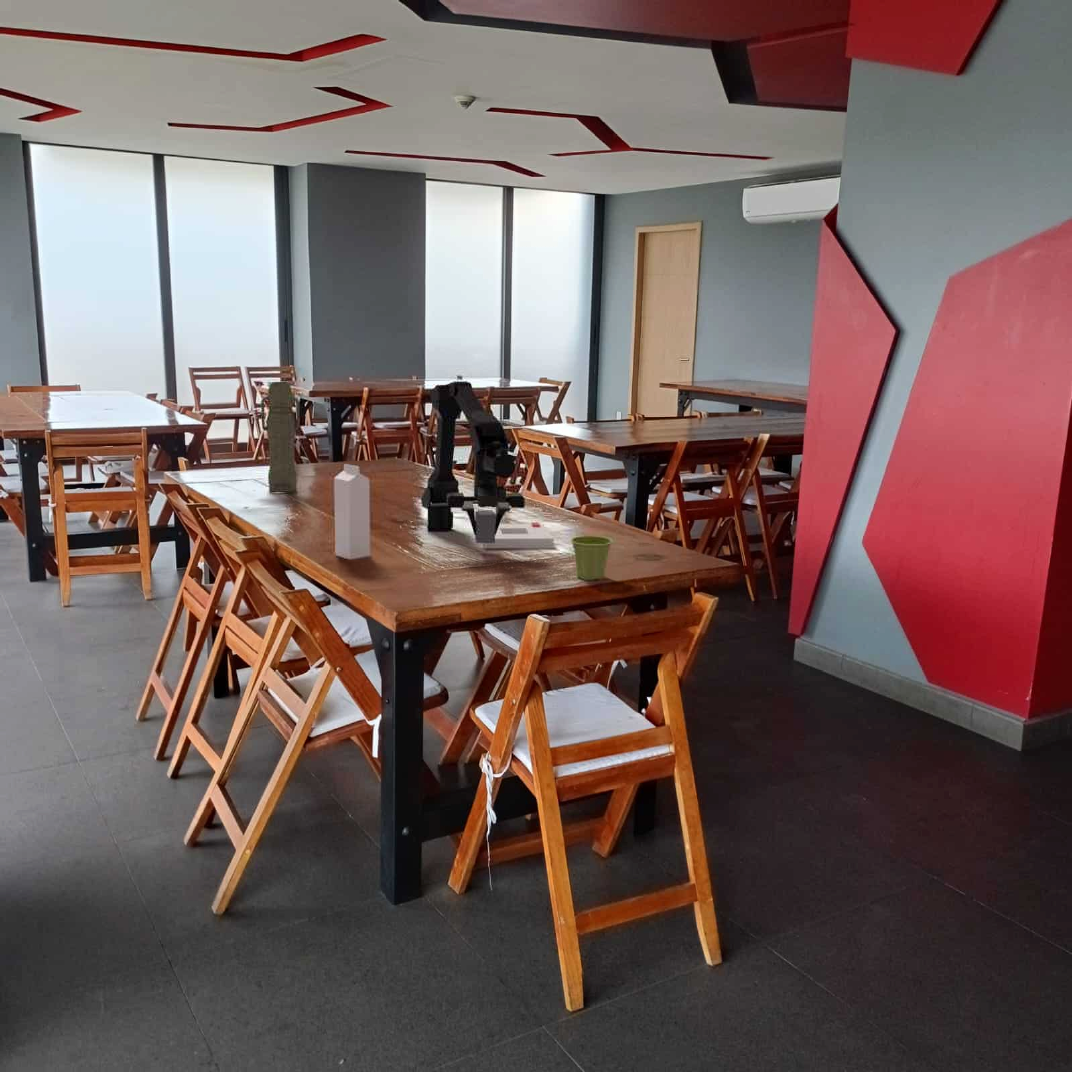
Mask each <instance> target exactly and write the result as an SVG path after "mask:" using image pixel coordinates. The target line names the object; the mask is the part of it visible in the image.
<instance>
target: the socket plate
mask: <svg viewBox="0 0 1072 1072" xmlns="http://www.w3.org/2000/svg"><path fill="white" fill-rule="evenodd" d="M480 544H481V547H482V549H553V548H554V537H553V536H552V534H551V532H550V531H549V530H548V529H547V527H546V526H545V524H544V523H539V522H530V523H500V524H499V527H498V530H497V533H496V535H495V543H480Z"/></svg>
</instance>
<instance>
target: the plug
mask: <svg viewBox="0 0 1072 1072" xmlns="http://www.w3.org/2000/svg"><path fill="white" fill-rule="evenodd" d="M474 513H475V523H476V535H474V540H475V543H476V544H481V543H495V511H493V509H478V510H476V511H475V510H474Z"/></svg>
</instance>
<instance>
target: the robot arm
mask: <svg viewBox="0 0 1072 1072" xmlns="http://www.w3.org/2000/svg"><path fill="white" fill-rule="evenodd" d="M430 400H431V407H432V409H433V412H434V413H435V415H436V416H437V423H436V425H437V426H436V436H435V437H436V439H435V440H436V441H435V457H434V458H435V459H434V470H433V472H432V473H431V475H429V477H428V479H427V485H426V487H425V490H424V492H423V494H422V497H421V498H420V501H421V502H420V503H421V506H422V508H424V509H426V510H427V524H426V530H427V532H452V529H453V528H454V512H453V511H452V509H454V508H455V509H456V508H457V509H459V508H461V511H462V512H466V514H467V516H468V519H469V521H470V525H471V527H472V528H471V529H472V531H473V534H474V536H475V535H476V523H475V507H474V505H477V506H478V508H485V507H486V508H487V507H488V508H489V507H490V508H495V511H494V513H495V535H496V533H497V530H498V527H499V524H501V522H502V519H503V517H504V515H505V514H506V513H507V512H510V511H511V508H512V509H524V508H525V506H526V501H525V497H524V495H523V494H522V493H521V492H507V486H499V483H498V480H499V478H500V479H507V478H509V477H511V476H512V475H513V474H514V472H515V470H516V463H515V460H514V457H512V456H511V455H510V454H509V449H510V447H509V444H510V443H509V440H508V437H507V434H506V432H505V429H504V426H503V424H502V423H501V422H500V420H499V419H498V418H497V417H496V416H495V415H493V414H490V413H488V412H487V411H486V409H485V408H484V406H483V404H482V402H481V401H480V400H479V398H478V397H477V395H476V393H475V391H474V390H473V385H472V383H471V382H469V381H467V380H465V381H464V380H463V381H461V380H460V381H459V380H458V381H457V380H456V381H453V382H449V383H447V384H436V385H435V386H434V387H433V388H432V389H431V392H430ZM461 413H463V415H464V416H465V418H466V420H467V422H468V424H469V429H468V434H469V437H470V440H471V442H472V445H473V447H472V450H471V451H472V452H474V460H473V461H474V463H473V464H474V465H473V466H474V467H473V468H474V469H473V470H474V472H473V473H474V475H473V480H474V481H473V486H474V487H473V495H472V496H470V495H469V496H465V495H464V492H460V490H459V484H460V482H459V480H457V478H456V476H455V475H454V473H453V468H454V453H455V451H454V450H455V440H456V439H455V436H456V424H457V419H458V417H459V416H460V415H461ZM510 507H511V508H510Z"/></svg>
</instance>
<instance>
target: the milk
mask: <svg viewBox="0 0 1072 1072" xmlns="http://www.w3.org/2000/svg"><path fill="white" fill-rule="evenodd" d="M333 485H334V489H333V490H334V491H333V492H334V494H333V495H334V497H333V498H334V545H335V546H334V547H335V548H334V550H335V551H334V555H335V556H338V557H340V558H344V559H347V560H356V559H361V558H366V557H367V558H368V557H370V556H371V527H370V523H371V518H370V512H371V511H370V509H371V507H370V502H371V501H370V497H371V496H370V492H371V491H370V478H368V477H367V476H365V475H363V474H362V473H360V466H358V465H354V464H353V465H352V464H349V463H348V464H347V463H344V464H343V470H342V471H341V472H340V473H338V474H337V475H336V476H335V477H334V479H333Z"/></svg>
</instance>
